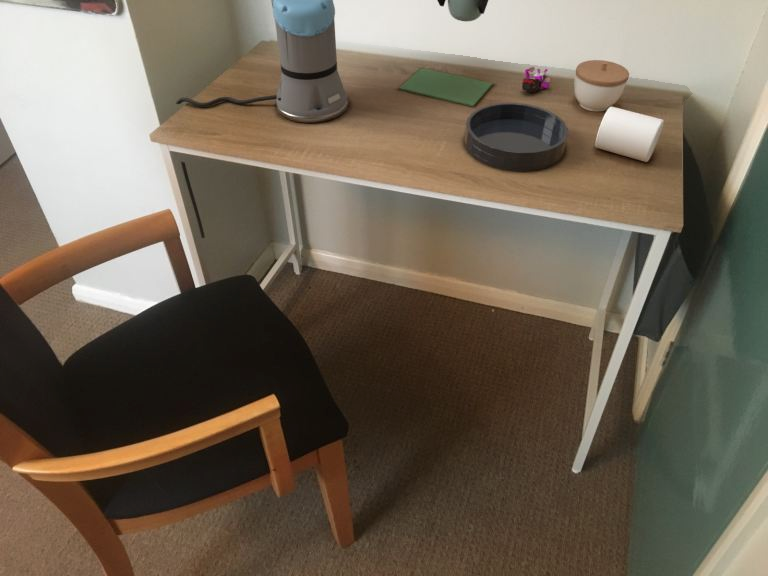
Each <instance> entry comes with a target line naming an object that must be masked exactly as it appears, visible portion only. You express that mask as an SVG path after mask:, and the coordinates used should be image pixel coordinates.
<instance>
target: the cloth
mask: <svg viewBox="0 0 768 576" xmlns="http://www.w3.org/2000/svg"><path fill="white" fill-rule="evenodd" d="M493 85H494V83H493V82H489V81H484V80H479V79H476V78H470V77H467V76H461V75H456V74H452V73H447V72H443V71H438V70H434V69H430V68H424V67H421V68H420V69H419V70H417V71H416V72H415V73H414V74H413V75H411V76H410V78H409V79H407V80H406V81H405V82H404V83H402V84H401V86H400V87H399V88H398V90H400V91H404V92H409V93H413V94H417V95H421V96H425V97H430V98H434V99H439V100H441V101H446V102H452V103H455V104H459V105H464V106H467V107H475V106H476V104H477V103H478V102H479V101H480V100H481V99H482V98H483V96H484V95H485V94H487V92H488V90H490V89H491V88H492V86H493Z"/></svg>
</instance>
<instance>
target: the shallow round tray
mask: <svg viewBox="0 0 768 576" xmlns="http://www.w3.org/2000/svg"><path fill="white" fill-rule="evenodd" d="M568 138H569V128H568V125H567V124H566V122H565V121H564V120H563V119H562V117H560V116H559V115H557V114H556V113H554V112H552V111H550V110H548V109H545V108H542V107H540V106H536V105H532V104H527V103H521V102H520V103H518V102H497V103H493V104H492V103H491V104H489V105H488V104H487V105H485V106H481V107H479V108H478V109H476V110H473V112H471V113H470V114H469V116H468V117H467V119H466V123H465V131H464V146H465V149H466V150H467V153H469V154H470V156H471V157H472V158H474V159H475V160H477V161H478V162H480V163H482V164H484V165H487V166H489V167H492V168H495V169H499V170H502V171H509V172H533V171H539V170H543V169H546V168H549V167H552V166H553V165H555V164H556V163H558V162H559V161H560V160H561V159H562V158H563V155H564V152H565V149H566V147H567V141H568Z"/></svg>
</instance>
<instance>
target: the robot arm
mask: <svg viewBox="0 0 768 576" xmlns="http://www.w3.org/2000/svg"><path fill="white" fill-rule="evenodd" d="M436 1H437V2H438V5H439V7H444V6H445V3H446V1H447V0H436ZM270 2H271V7H272V15H273V18H274V23H275V24H274V25H275V31H276V33H275V34H276V39H277V48H278V57H279V62H280V63H279V64H280V72H281V73H280V78H279V84H278V88H277V92H276V93H277V94H274V95H265V96H259V97H253V98H249V99H236V98H233V97H230V96H222V97H217V98H214V99H212V100H210V101H207V102H199V101H196V100H195V99H192V98H189V97H184V96H183V97H180V98H179V99H178V100H176V102H175V104H176V105H180V104H182V103H183V102H185V103H188V104H191V105H193V106H196V107H200V108H202V107H203V108H205V107H211V106H212V105H213V106H214V105H216V104H218V103H221V102H231V103H233V104H237V105H247V104H253V103H257V102H258V103H259V102H264V101H273V100H276V110H277V112H278V114H279V115H281V116H282V117H283V118H285V119H286V120H290V121H291V122H296V123H305V124H306V123H307V124H312V123H313V124H314V123H315V124H316V123H323V122H327V121H331V120H333V119H335V118H338V117H340V116H342V114H344V113H345V111H346V110H347V109H348V105H349V104H348V95H347V91H346V90H345V87H344V84H343V82H342V79H341V76H340V74H339V70H338V59H337V58H338V57H337V41H336V26H335V25H336V23H335V15H336V7H335V3H334V0H271V1H270ZM488 2H489V0H479V3H478V6H477V7H478V9H479V12H480V13H481V15H484V14H485V12H486V8H487V6H488ZM180 164H181V168H182V172H183V176H184V179H185V180H184V181H185V183H186V187H187V190H188V195H189V197H190V200H191V203H192V204H191V205H192V207H193V210H194V214H195V218H196V221H197V225H198V229H199V233H200V237H201V239H205V238H206V236H205V232H204V228H203V223H202V220H201V216H200V212H199V209H198V205H197V202H196V199H195V194H194V192H193V189H192V185H191V181H190V178H189V174H188V170H187V166H186V162H184V161H180Z"/></svg>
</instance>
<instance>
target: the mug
mask: <svg viewBox="0 0 768 576" xmlns="http://www.w3.org/2000/svg"><path fill="white" fill-rule="evenodd" d="M664 124H665V121H664V119H661V118H658V117H654V116H650V115H646V114H642V113H640V112H639V113H638V112H635V111H631V110H627V109H623V108H619V107H615V106H610V107H608V109H607V110H605V113H604V115H603V117H602V120H601V122H600V124H599V128H598V129H597V130H598V131H597V134H596V137H595V142H594V145H595V148H596V149H600V150H601V151H602V150H603V151H607V152H610V153H614V154H615V155H616V154H617V155H621V156H623V157H627V158H631V159H634V160H638V161H640V162H641V161H642V162H645V163H647V162H649V160H650V159H651V157H652V155H653V153H654V151H655V149H656V146H657V144H658V141H659V138H660V136H661V133H662V130H663V128H664Z"/></svg>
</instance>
